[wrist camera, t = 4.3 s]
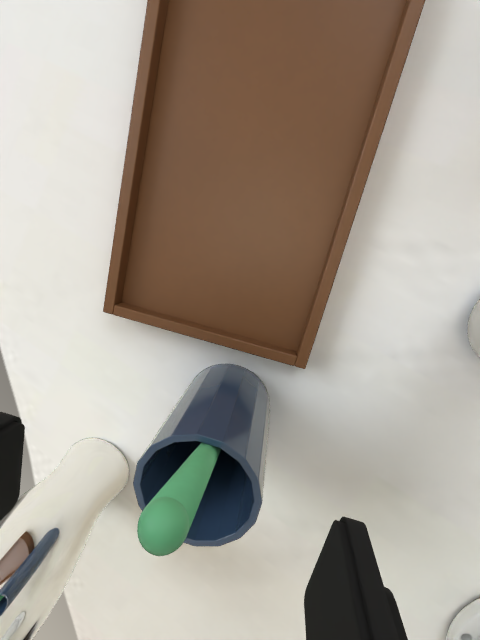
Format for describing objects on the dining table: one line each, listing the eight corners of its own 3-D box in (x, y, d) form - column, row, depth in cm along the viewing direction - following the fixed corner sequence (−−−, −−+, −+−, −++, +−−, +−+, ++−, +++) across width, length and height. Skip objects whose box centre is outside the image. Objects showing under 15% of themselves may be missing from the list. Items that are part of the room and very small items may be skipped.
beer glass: (145, 455, 29) (5, 668, 14) (119, 511, 31) (-29, 750, 16) (76, 419, 29) (-133, 595, 14) (54, 477, 31) (-151, 684, 16)
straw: (226, 437, 27) (117, 797, 9) (211, 433, 27) (78, 781, 9) (255, 329, 24) (186, 534, 7) (240, 324, 24) (132, 517, 7)
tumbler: (279, 377, 26) (276, 458, 16) (257, 449, 27) (242, 562, 18) (197, 353, 26) (145, 418, 16) (180, 426, 28) (125, 523, 18)
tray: (435, -46, 18) (449, -75, 17) (303, 361, 25) (305, 369, 23) (175, -95, 20) (165, -127, 18) (114, 307, 26) (102, 312, 24)
